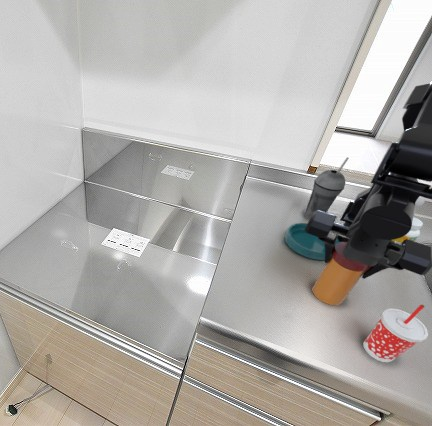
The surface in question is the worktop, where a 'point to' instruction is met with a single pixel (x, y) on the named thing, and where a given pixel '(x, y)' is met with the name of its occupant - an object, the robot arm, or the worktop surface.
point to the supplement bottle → (412, 231)
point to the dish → (305, 242)
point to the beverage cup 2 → (395, 334)
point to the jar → (335, 283)
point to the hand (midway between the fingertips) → (344, 269)
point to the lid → (345, 261)
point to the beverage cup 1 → (325, 190)
